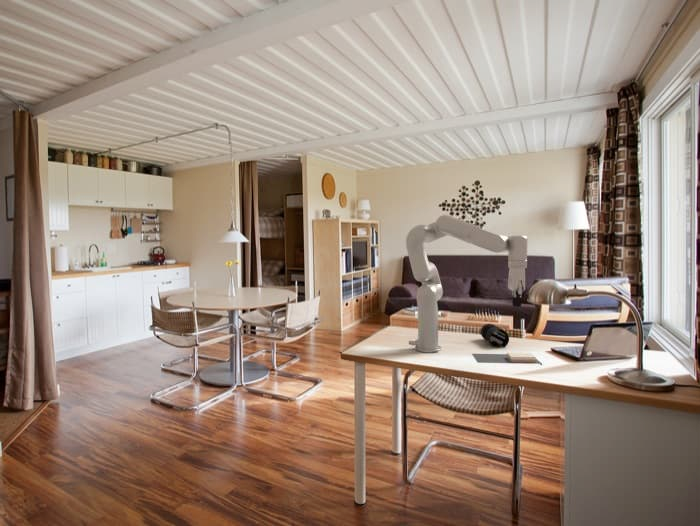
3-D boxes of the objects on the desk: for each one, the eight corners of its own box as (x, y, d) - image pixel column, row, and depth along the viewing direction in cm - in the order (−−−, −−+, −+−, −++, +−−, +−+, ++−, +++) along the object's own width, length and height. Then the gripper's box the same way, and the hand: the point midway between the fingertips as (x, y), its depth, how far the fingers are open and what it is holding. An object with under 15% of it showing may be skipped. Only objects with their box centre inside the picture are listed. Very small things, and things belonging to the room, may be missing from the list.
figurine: (513, 335, 196) (499, 326, 216) (496, 326, 196) (483, 318, 216) (504, 352, 197) (490, 342, 217) (487, 343, 197) (475, 334, 217)
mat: (477, 363, 173) (477, 362, 173) (471, 354, 187) (471, 353, 187) (542, 364, 170) (542, 363, 170) (531, 355, 184) (531, 354, 184)
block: (506, 357, 180) (511, 361, 173) (506, 352, 180) (511, 356, 173) (530, 357, 179) (535, 362, 172) (530, 352, 179) (535, 357, 172)
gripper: (504, 263, 184) (503, 303, 185) (513, 265, 169) (512, 309, 170) (521, 263, 183) (520, 303, 184) (532, 265, 168) (531, 309, 169)
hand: (516, 306), depth 177 cm, fingers closed
